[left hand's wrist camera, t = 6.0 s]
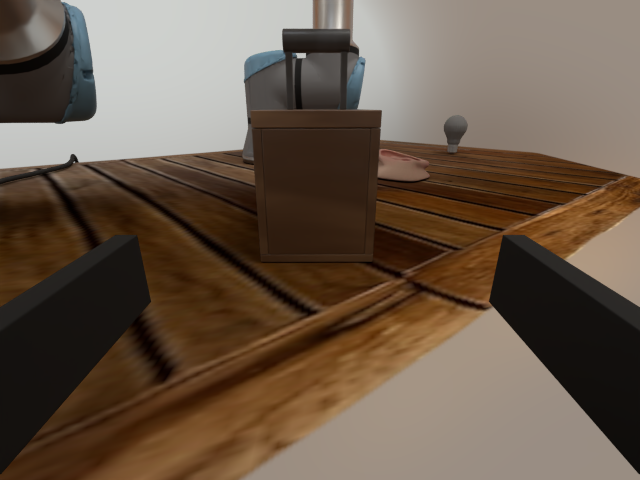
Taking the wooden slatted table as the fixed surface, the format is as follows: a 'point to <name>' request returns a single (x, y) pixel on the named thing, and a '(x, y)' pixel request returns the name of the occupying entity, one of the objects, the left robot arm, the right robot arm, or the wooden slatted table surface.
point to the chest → (316, 193)
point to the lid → (316, 117)
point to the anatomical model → (401, 166)
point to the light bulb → (454, 131)
